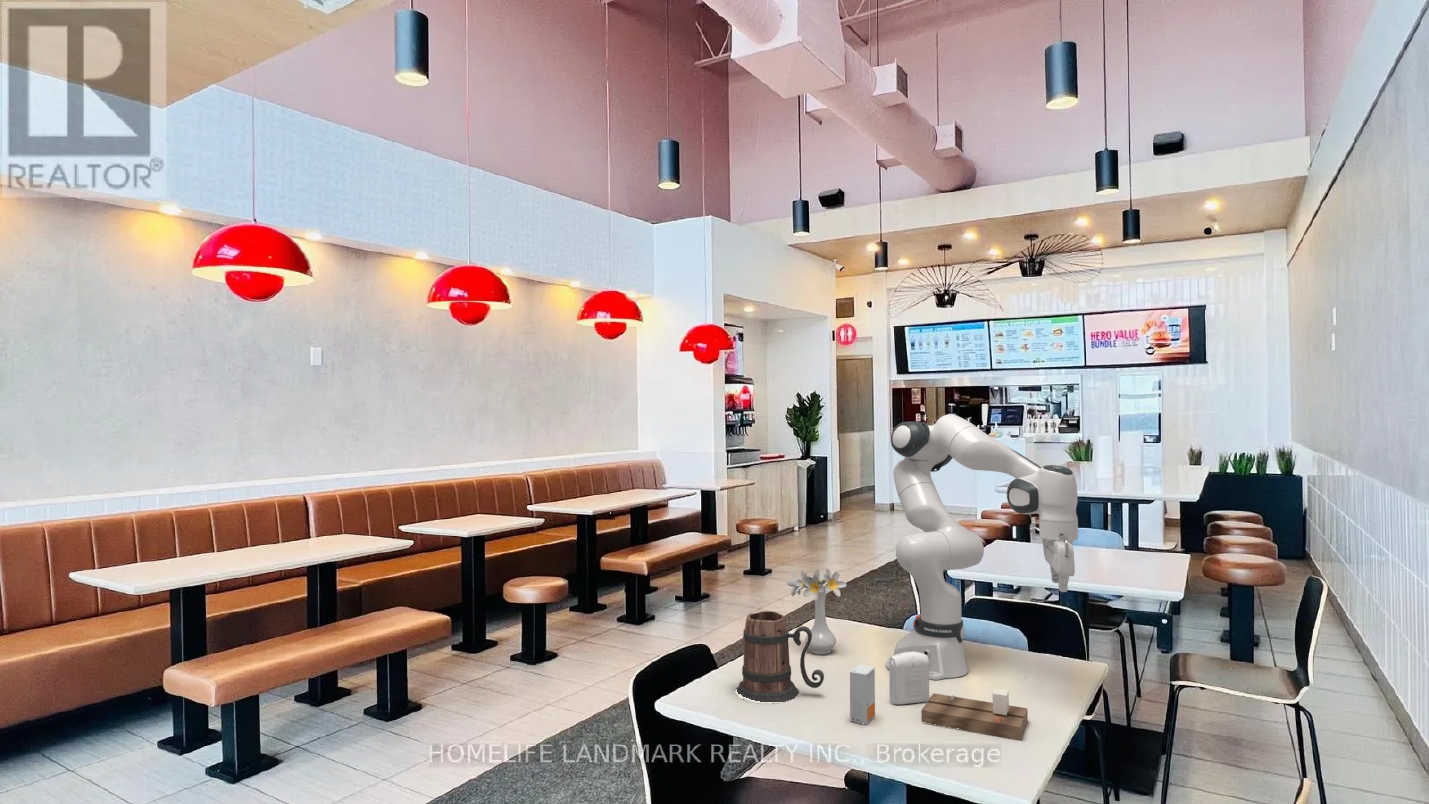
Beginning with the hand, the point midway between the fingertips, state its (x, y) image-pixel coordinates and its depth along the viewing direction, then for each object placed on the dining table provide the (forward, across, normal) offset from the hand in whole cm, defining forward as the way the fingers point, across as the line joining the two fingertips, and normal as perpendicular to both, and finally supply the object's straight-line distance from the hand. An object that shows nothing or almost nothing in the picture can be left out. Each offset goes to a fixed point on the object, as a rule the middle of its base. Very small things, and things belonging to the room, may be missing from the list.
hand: (1059, 586), depth 198 cm
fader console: (+29, -16, +22) cm, 40 cm away
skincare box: (+29, -19, +48) cm, 59 cm away
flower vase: (+29, +30, +64) cm, 76 cm away
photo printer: (+29, -6, +37) cm, 47 cm away
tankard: (+29, -6, +70) cm, 76 cm away
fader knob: (+27, -17, +16) cm, 36 cm away
